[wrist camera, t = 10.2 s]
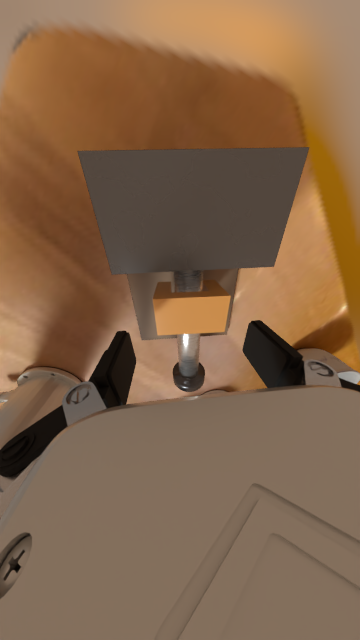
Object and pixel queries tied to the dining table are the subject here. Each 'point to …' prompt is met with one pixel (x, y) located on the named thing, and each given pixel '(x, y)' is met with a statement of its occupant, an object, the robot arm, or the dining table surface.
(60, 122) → the dining table surface
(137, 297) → the base board
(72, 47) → the dining table surface
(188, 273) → the shaft
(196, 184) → the block
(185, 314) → the block
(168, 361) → the dining table surface
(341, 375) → the teacup
